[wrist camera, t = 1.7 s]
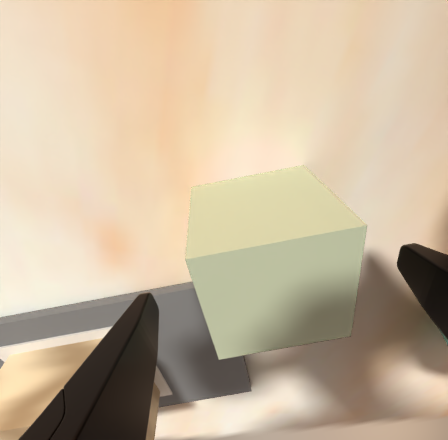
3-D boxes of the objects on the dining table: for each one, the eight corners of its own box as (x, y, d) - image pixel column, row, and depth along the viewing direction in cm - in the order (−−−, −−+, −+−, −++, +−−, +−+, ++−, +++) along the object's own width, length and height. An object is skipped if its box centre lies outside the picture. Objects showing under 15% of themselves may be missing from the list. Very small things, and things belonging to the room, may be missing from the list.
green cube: (303, 164, 11) (367, 225, 7) (304, 252, 14) (351, 336, 9) (191, 186, 11) (184, 259, 7) (213, 269, 14) (218, 359, 10)
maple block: (123, 334, 15) (101, 413, 11) (160, 391, 18) (150, 465, 15) (9, 355, 15) (-47, 439, 12) (67, 407, 19) (38, 483, 15)
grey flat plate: (224, 275, 14) (225, 284, 13) (250, 384, 20) (251, 392, 20) (-53, 327, 14) (-63, 337, 14) (56, 418, 21) (53, 427, 20)
